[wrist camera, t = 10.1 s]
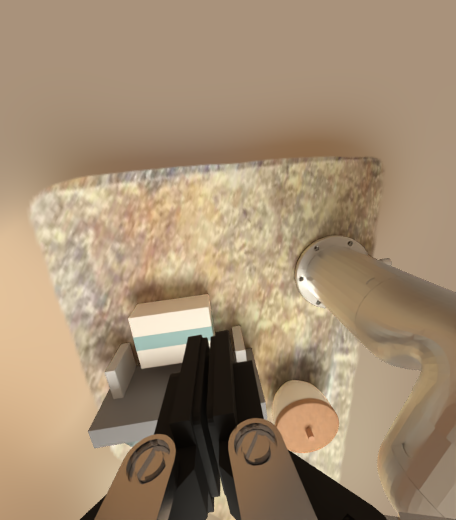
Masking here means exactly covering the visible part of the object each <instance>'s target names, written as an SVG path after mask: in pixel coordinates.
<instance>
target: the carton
mask: <svg viewBox="0 0 456 520" xmlns="http://www.w3.org/2000/svg"><path fill="white" fill-rule="evenodd" d="M128 320H129V324H130V328H131V331H132V335H133V340H134V343H135V347H136V351H137V354H138V358H139V362H140V365H141V369H144V368H150V367H157V366H164V365H170V364H177V363H182V362H183V357H184V353H185V348H186V343H187V339H188V337H190V336H196V335H202V337H203V338H205V337H207V338H208V342H209V347H210V340H211V336H215V331H214V325H213V318H212V311H211V306H210V299H209V294H204V295H197V296H190V297H183V298H176V299H169V300H162V301H155V302H148V303H141V304H137V305H136V307H135V309H134V310H133V312H132V313H131V315H130V316H129V318H128Z"/></svg>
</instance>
